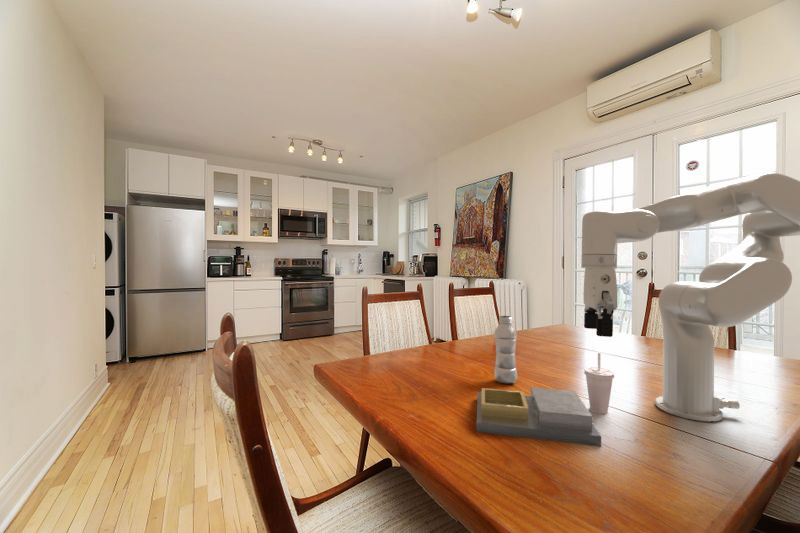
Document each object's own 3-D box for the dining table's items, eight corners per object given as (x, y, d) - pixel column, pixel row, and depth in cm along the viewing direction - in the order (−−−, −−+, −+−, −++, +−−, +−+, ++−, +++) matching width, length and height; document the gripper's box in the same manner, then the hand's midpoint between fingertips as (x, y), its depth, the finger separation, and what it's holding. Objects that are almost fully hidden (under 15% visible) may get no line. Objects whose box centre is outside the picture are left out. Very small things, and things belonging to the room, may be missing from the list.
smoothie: (614, 408, 84) (614, 352, 84) (614, 418, 78) (614, 358, 78) (584, 402, 87) (585, 349, 87) (583, 412, 82) (583, 354, 82)
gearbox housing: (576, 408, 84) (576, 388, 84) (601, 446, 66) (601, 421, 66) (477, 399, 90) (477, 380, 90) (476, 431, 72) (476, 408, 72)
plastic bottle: (518, 386, 98) (519, 318, 98) (494, 385, 100) (494, 318, 100) (515, 379, 105) (515, 315, 105) (493, 378, 106) (493, 314, 106)
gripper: (631, 262, 73) (629, 340, 73) (603, 262, 90) (602, 326, 90) (592, 261, 75) (591, 338, 75) (572, 262, 92) (571, 325, 92)
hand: (597, 332), depth 83 cm, fingers open, 9 cm apart
